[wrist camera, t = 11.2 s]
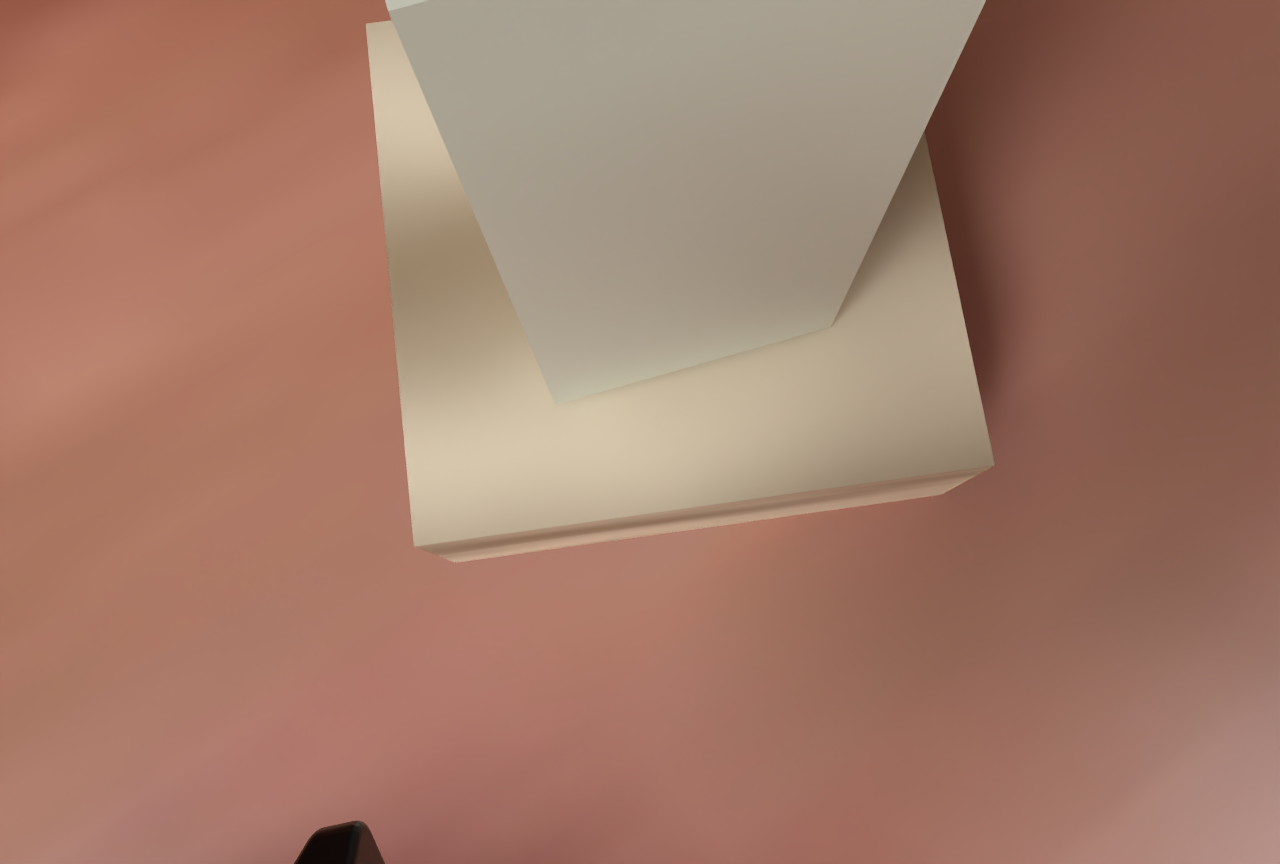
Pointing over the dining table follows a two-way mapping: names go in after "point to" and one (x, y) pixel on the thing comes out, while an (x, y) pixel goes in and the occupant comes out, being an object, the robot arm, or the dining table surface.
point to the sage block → (677, 161)
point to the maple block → (657, 381)
